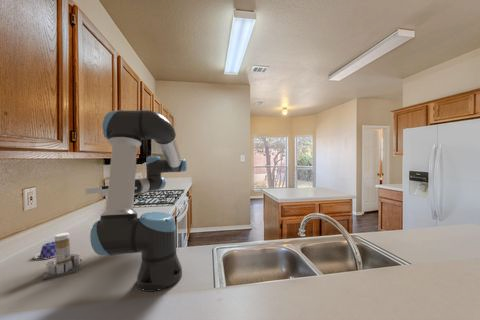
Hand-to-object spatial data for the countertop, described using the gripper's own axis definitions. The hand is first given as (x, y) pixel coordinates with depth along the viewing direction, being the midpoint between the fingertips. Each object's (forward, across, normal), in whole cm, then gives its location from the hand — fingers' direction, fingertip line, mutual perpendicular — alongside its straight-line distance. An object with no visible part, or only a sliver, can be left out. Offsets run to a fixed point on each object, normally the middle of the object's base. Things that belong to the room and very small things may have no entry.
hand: (93, 192), depth 93 cm
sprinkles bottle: (+11, +1, -29) cm, 31 cm away
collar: (+11, +1, -30) cm, 32 cm away
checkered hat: (+8, +24, -30) cm, 39 cm away
